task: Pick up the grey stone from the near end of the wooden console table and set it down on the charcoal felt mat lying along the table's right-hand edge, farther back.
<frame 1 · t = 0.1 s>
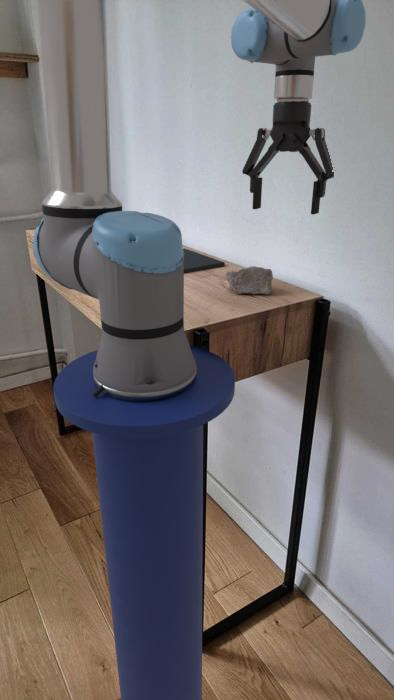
hand: (284, 211, 105), 16 cm above the table, tool pointing down, fingers open, 13 cm apart
stone: (248, 292, 107), on the table
edge mat: (182, 261, 131), on the table
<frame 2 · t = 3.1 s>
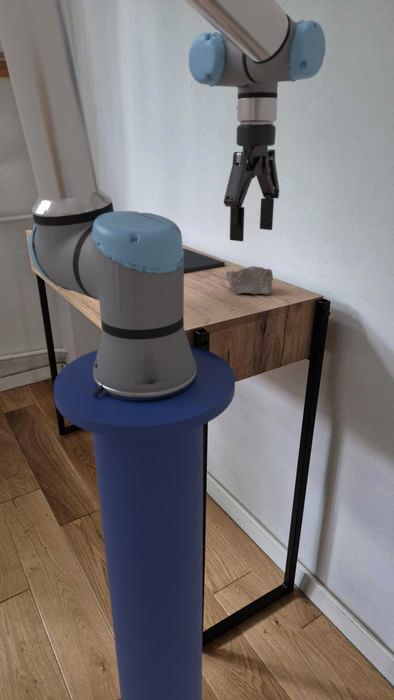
hand: (251, 234, 102), 12 cm above the table, tool pointing down, fingers open, 13 cm apart
nothing on the table moved.
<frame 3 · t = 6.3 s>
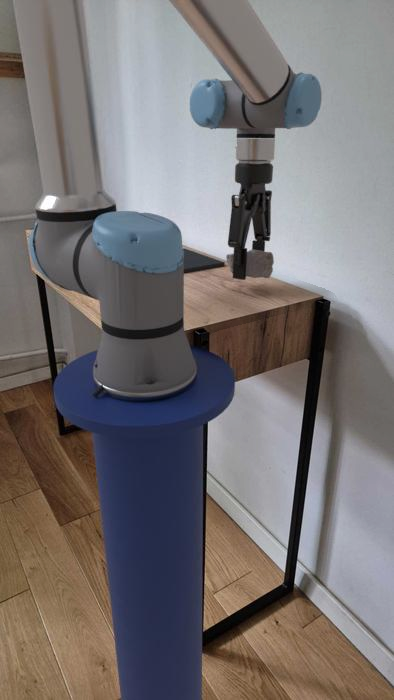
hand: (248, 274, 105), 4 cm above the table, tool pointing down, fingers closed on stone, 8 cm apart
stone: (249, 276, 106), point 3 cm above the table, touching gripper
everything else where it was.
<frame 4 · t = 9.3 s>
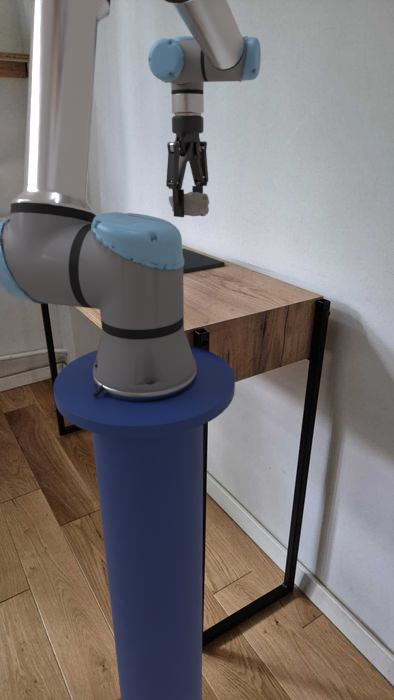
hand: (188, 214, 123), 13 cm above the table, tool pointing down, fingers closed on stone, 8 cm apart
stone: (189, 216, 124), point 13 cm above the table, touching gripper
everything else where it was.
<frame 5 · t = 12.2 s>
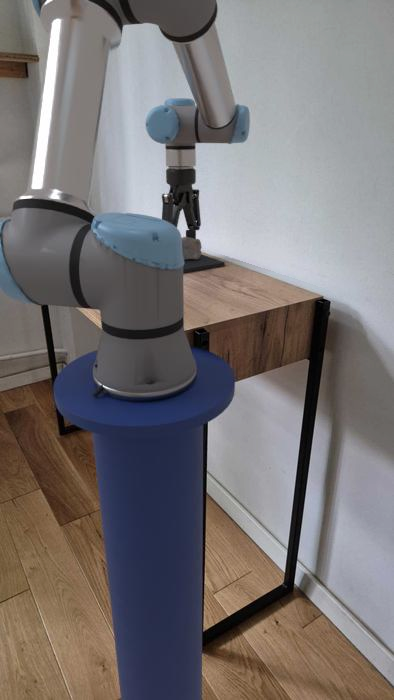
hand: (182, 257, 131), 1 cm above the table, tool pointing down, fingers closed on stone, 8 cm apart
stone: (183, 258, 131), point 1 cm above the table, touching gripper
everything else where it was.
when the fingers open (1 cm above the table, at t = 12.6 s): stone stays where it is, resting on edge mat.
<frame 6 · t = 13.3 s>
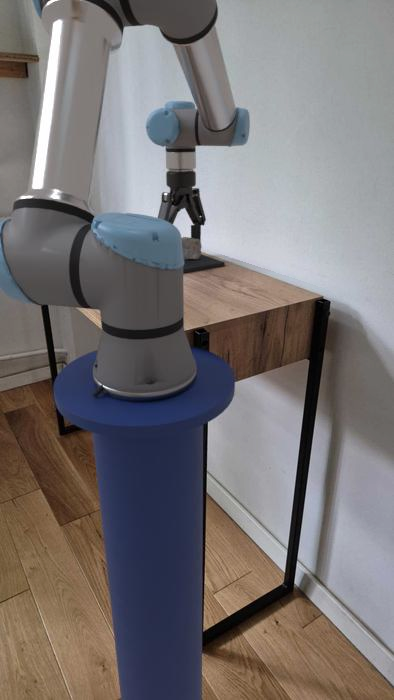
hand: (182, 253, 131), 2 cm above the table, tool pointing down, fingers open, 13 cm apart
stone: (183, 258, 131), point 1 cm above the table, touching edge mat
everything else where it was.
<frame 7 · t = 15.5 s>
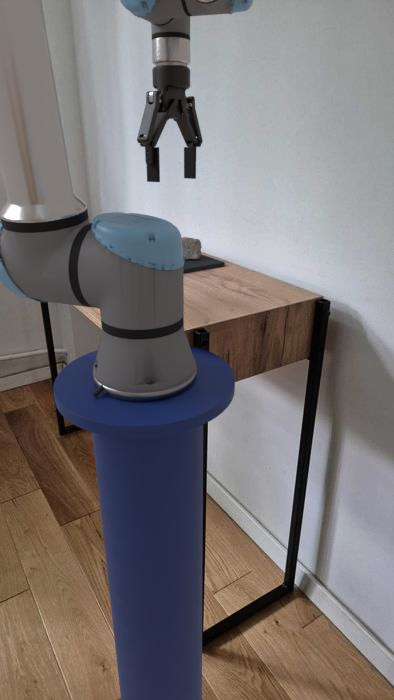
hand: (172, 180, 104), 23 cm above the table, tool pointing down, fingers open, 13 cm apart
nothing on the table moved.
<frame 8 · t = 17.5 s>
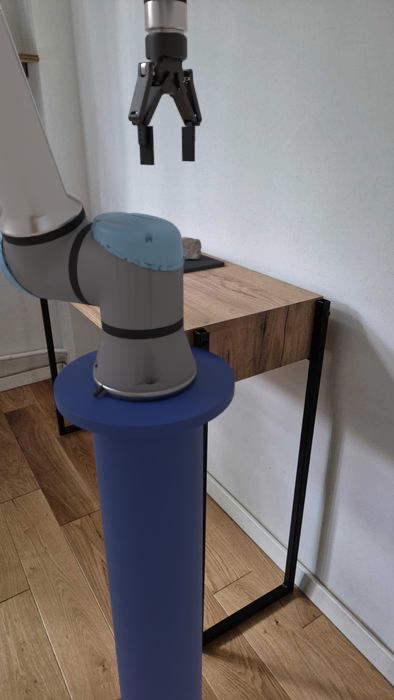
hand: (169, 163, 94), 27 cm above the table, tool pointing down, fingers open, 13 cm apart
nothing on the table moved.
at the end: stone inside the target area on the edge mat (0.3 cm from its centre), point 0.8 cm above the edge mat's base; the gripper is holding nothing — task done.
